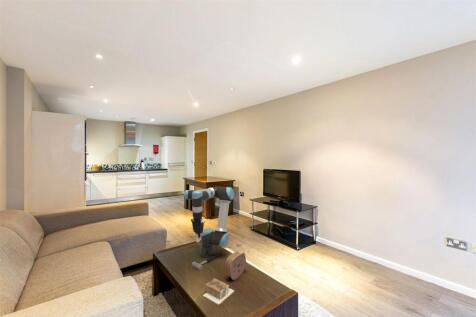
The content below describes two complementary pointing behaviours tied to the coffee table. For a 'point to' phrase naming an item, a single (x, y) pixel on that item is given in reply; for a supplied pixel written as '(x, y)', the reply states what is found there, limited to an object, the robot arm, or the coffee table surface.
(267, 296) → the coffee table surface
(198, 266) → the rubber mallet
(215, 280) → the wooden block
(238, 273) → the face sculpture
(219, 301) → the felt mat
